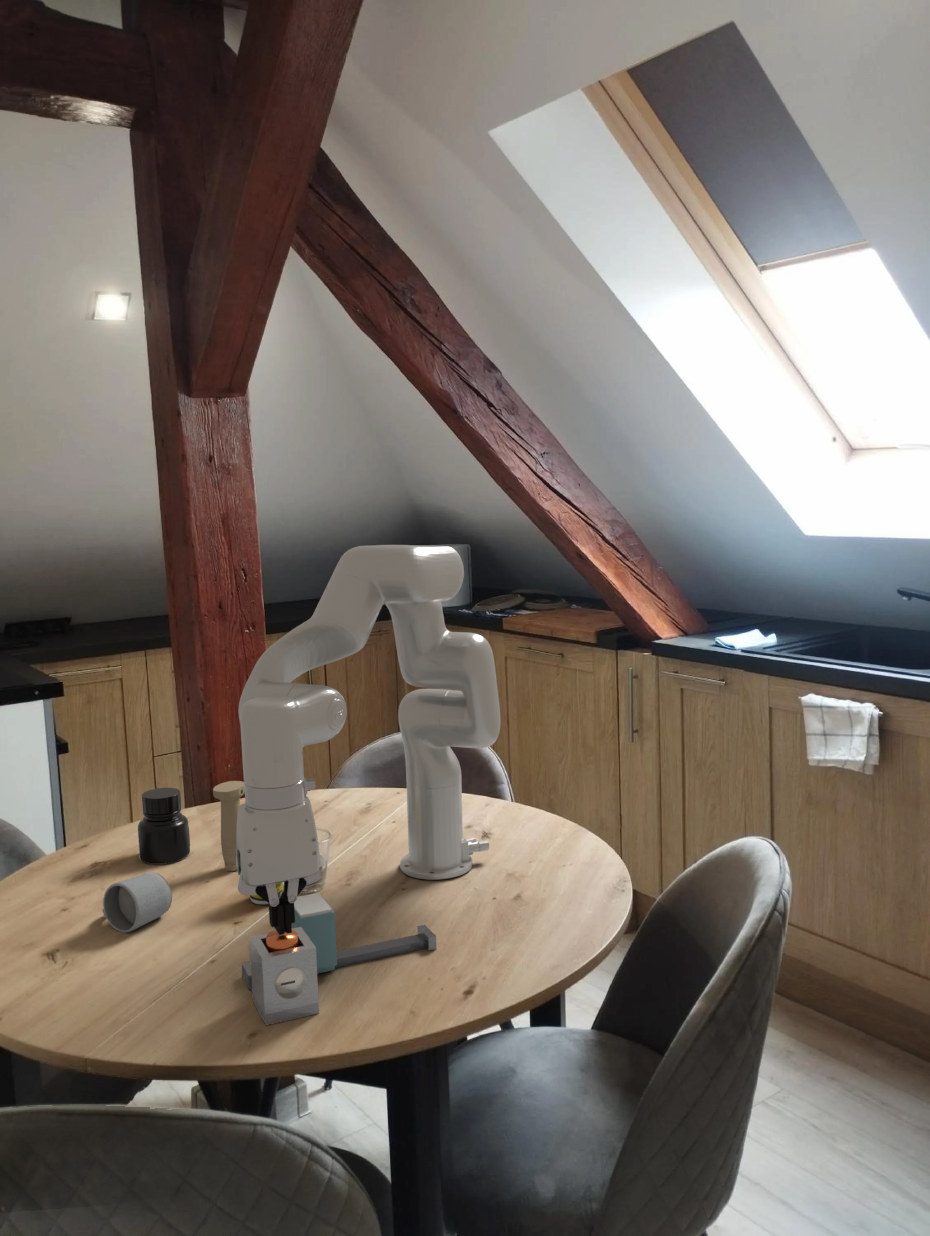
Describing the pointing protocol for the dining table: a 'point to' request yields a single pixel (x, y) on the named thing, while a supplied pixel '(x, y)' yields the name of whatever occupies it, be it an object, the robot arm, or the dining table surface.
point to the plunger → (281, 941)
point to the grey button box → (284, 979)
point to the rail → (372, 951)
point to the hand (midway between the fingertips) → (282, 929)
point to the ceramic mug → (136, 901)
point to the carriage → (318, 928)
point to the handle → (229, 819)
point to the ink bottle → (163, 827)
